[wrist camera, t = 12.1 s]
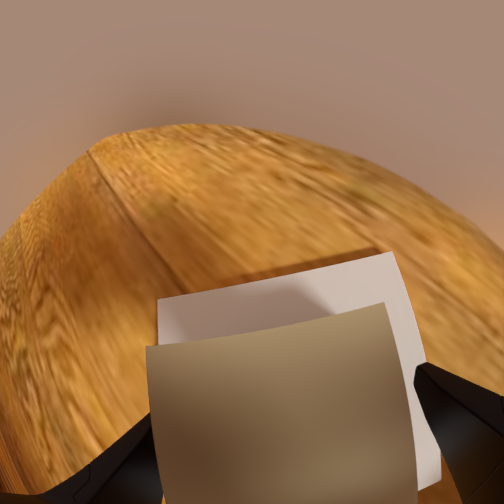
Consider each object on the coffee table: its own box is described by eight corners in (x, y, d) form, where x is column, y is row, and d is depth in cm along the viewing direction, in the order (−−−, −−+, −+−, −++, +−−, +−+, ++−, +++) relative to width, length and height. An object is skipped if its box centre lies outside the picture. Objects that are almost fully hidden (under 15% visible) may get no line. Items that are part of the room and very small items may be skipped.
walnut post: (338, 432, 13) (418, 517, 2) (265, 445, 14) (177, 546, 3) (326, 364, 16) (384, 301, 5) (254, 378, 16) (145, 346, 5)
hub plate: (435, 476, 10) (464, 491, 7) (189, 519, 12) (162, 541, 8) (388, 257, 19) (405, 225, 15) (163, 303, 21) (133, 281, 17)
